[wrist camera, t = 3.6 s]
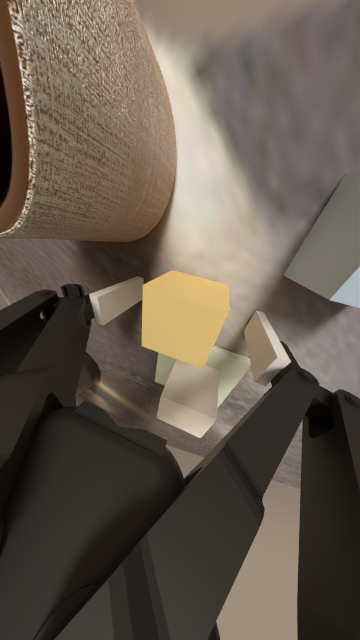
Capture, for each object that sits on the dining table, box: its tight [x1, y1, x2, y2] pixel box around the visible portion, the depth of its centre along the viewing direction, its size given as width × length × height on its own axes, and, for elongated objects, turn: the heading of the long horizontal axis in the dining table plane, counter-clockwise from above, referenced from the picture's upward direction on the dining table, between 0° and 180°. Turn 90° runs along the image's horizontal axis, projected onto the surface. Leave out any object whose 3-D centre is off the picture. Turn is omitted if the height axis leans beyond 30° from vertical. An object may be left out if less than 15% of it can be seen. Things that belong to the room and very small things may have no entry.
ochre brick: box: [142, 270, 230, 369], centre depth 12 cm, size 6×6×6 cm
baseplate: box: [155, 346, 251, 438], centre depth 18 cm, size 12×12×7 cm
